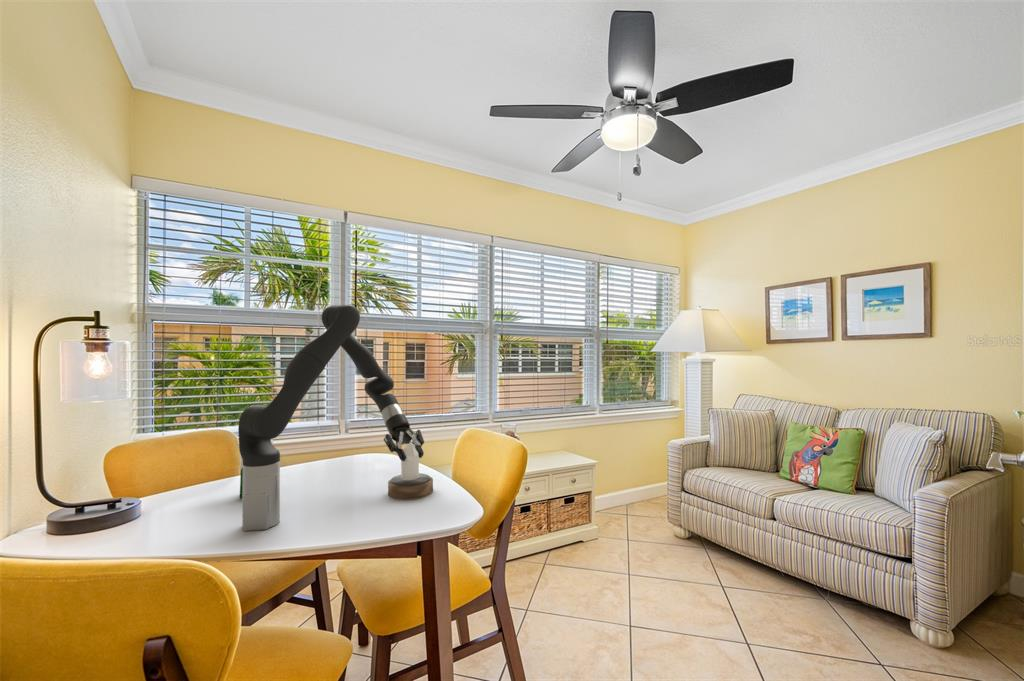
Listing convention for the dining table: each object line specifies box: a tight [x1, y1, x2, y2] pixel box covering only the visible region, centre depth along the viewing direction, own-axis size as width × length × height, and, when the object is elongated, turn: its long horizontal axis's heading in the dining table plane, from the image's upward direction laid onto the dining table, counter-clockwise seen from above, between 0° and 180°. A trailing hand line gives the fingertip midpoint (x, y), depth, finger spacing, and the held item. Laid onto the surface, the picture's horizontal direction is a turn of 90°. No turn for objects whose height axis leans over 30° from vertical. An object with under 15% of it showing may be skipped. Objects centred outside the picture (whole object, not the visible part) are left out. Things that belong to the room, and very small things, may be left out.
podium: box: [387, 472, 434, 500], centre depth 156 cm, size 15×15×5 cm
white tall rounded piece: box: [400, 443, 420, 480], centre depth 157 cm, size 6×12×6 cm
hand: (413, 457), depth 156 cm, fingers open, 6 cm apart
